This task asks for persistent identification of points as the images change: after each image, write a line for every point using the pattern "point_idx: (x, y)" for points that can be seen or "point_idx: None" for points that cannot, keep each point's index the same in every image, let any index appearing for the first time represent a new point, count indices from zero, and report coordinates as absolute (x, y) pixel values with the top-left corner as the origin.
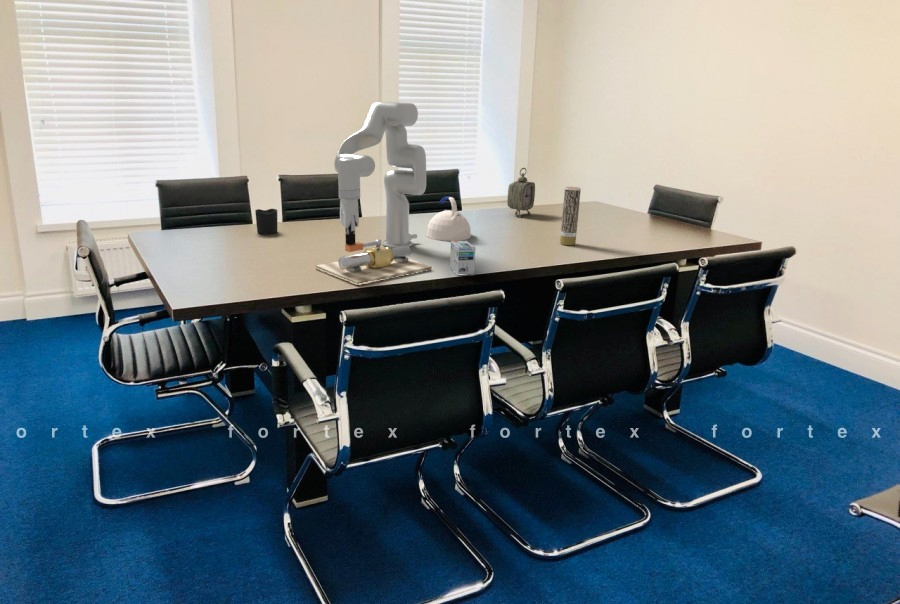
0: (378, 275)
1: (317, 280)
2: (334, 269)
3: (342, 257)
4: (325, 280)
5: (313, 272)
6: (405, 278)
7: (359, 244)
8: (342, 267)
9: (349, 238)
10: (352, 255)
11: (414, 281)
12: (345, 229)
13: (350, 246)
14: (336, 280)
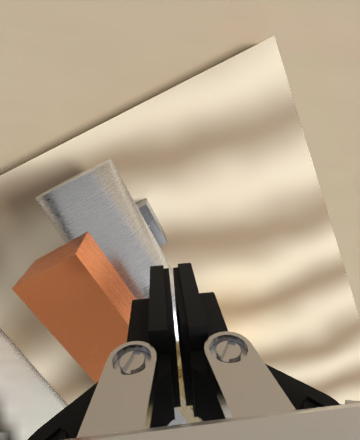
0: (33, 327)
1: (38, 13)
2: (166, 137)
3: (68, 192)
4: (37, 64)
5: (208, 17)
6: (53, 404)
7: (84, 367)
8: (74, 176)
9: (128, 329)
10: (122, 265)
11: (9, 426)
12: (252, 365)
13: (18, 292)
14: (34, 127)
